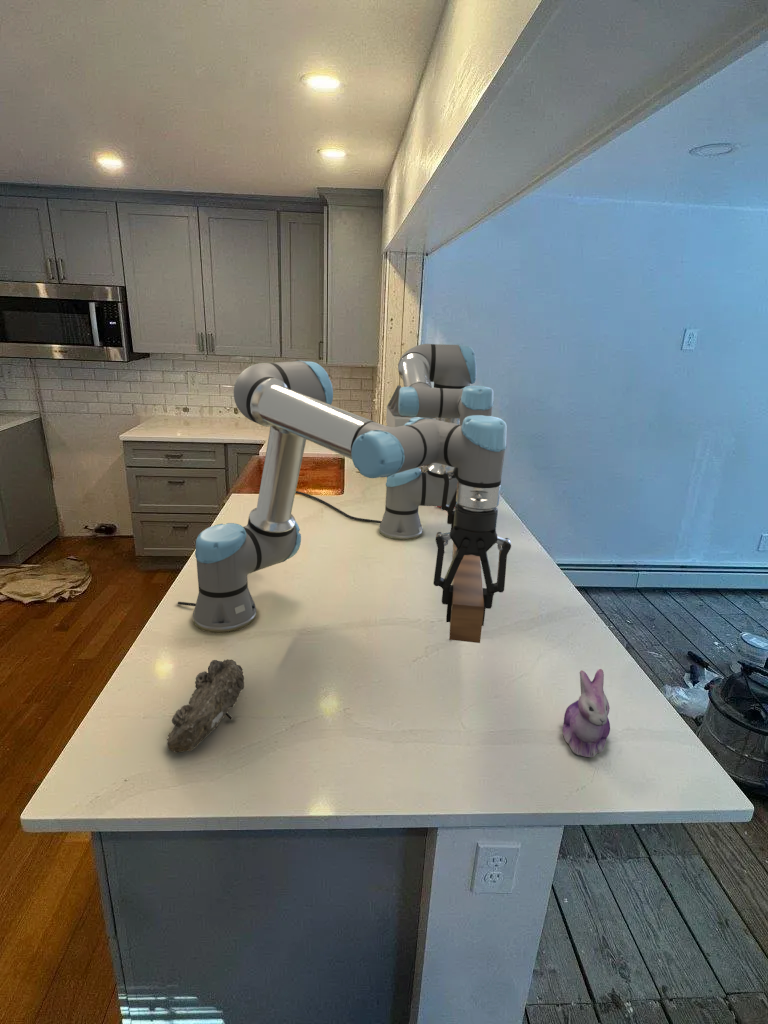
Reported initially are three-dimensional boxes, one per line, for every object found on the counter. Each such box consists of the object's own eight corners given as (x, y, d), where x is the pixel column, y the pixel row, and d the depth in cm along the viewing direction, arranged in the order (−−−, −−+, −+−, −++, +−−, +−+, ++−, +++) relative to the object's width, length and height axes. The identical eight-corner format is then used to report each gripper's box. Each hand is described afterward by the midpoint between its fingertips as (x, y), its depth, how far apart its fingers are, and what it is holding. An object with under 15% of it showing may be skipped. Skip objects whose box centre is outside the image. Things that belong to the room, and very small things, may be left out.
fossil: (192, 660, 117) (244, 628, 112) (224, 691, 120) (276, 661, 115) (142, 746, 98) (202, 712, 93) (182, 779, 101) (242, 748, 96)
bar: (453, 528, 155) (455, 503, 152) (473, 530, 154) (476, 505, 152) (449, 639, 102) (452, 603, 100) (480, 643, 101) (484, 606, 99)
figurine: (588, 767, 100) (602, 697, 95) (547, 730, 108) (559, 664, 103) (625, 751, 104) (641, 683, 99) (583, 716, 112) (596, 652, 107)
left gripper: (422, 507, 97) (414, 625, 105) (532, 517, 95) (515, 636, 103) (425, 494, 104) (417, 605, 112) (528, 502, 102) (512, 615, 110)
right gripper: (434, 450, 138) (427, 538, 146) (511, 456, 136) (500, 545, 144) (435, 444, 145) (429, 528, 153) (509, 449, 143) (499, 534, 151)
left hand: (464, 620), depth 108 cm, fingers closed on bar, 5 cm apart
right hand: (463, 536), depth 148 cm, fingers closed on bar, 6 cm apart
